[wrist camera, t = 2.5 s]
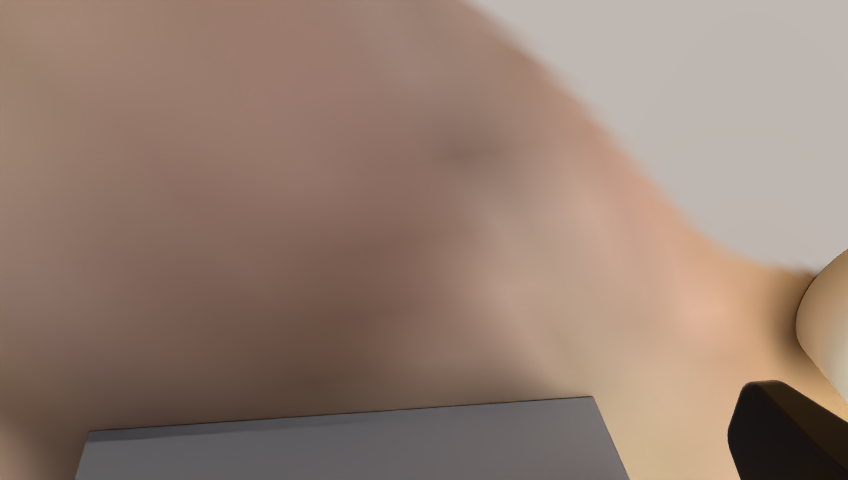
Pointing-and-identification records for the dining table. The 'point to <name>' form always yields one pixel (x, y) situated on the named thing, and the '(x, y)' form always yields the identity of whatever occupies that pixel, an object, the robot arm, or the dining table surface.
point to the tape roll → (827, 323)
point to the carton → (371, 446)
